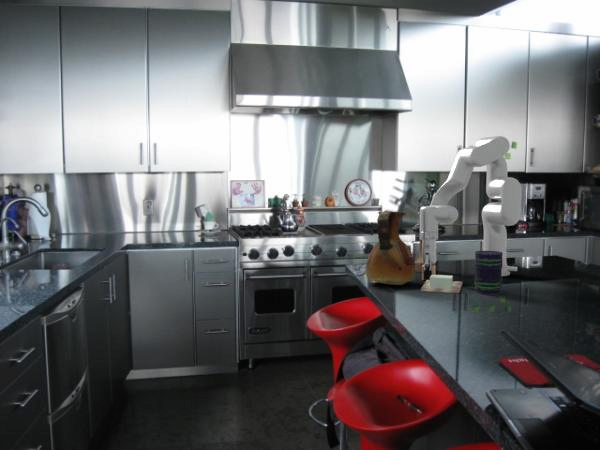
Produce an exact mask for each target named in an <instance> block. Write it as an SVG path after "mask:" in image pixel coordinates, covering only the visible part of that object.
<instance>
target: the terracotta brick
mask: <svg viewBox="0 0 600 450" xmlns="http://www.w3.org/2000/svg"><path fill="white" fill-rule="evenodd" d="M429 266H430V265H429ZM431 270H432V275H436V264H433V265H431ZM422 280H424V265H423V266H422V273H421V281H422Z"/></svg>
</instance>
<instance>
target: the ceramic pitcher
mask: <svg viewBox="0 0 600 450" xmlns="http://www.w3.org/2000/svg"><path fill="white" fill-rule="evenodd" d="M377 214H378V216H377V219H376V220H377V221H376V228H377V235H378V242H377V243H376V244H375V245H374V247H373V248H372V249H371V251H370V253H369V255H368V258H367V261H366V265H365V275H366V278H367V279H368V280H371V281H372V282H376V283H379V284H385V285H395V286H403V285H405V284H407V283H409V282H412V281H413V280H414V279H415V276H416V272H415V258H414V255H413V253H412V251H411V250H410V248H409V246H408V245H407V244H406V243H405V242H404V241H402V239H401V237H400V235H399V227H400V220H401V218H402V217H403V216H404V215H405V214H406V212H401V211H392V210H391V211H390V210H384V211H381V210H380V211H378V213H377Z"/></svg>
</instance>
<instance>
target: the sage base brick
mask: <svg viewBox="0 0 600 450" xmlns="http://www.w3.org/2000/svg"><path fill="white" fill-rule="evenodd" d="M453 281H454V276H453V275H443V274H435V275H431V276H430V288H443V289H452V286H453Z"/></svg>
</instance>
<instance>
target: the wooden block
mask: <svg viewBox="0 0 600 450" xmlns="http://www.w3.org/2000/svg"><path fill="white" fill-rule="evenodd" d="M414 262H415V273H420V272H422V266H423V265H424V263H423V261H422V240H421V239H420V238H419V254H418V258H417V260H414Z"/></svg>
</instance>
